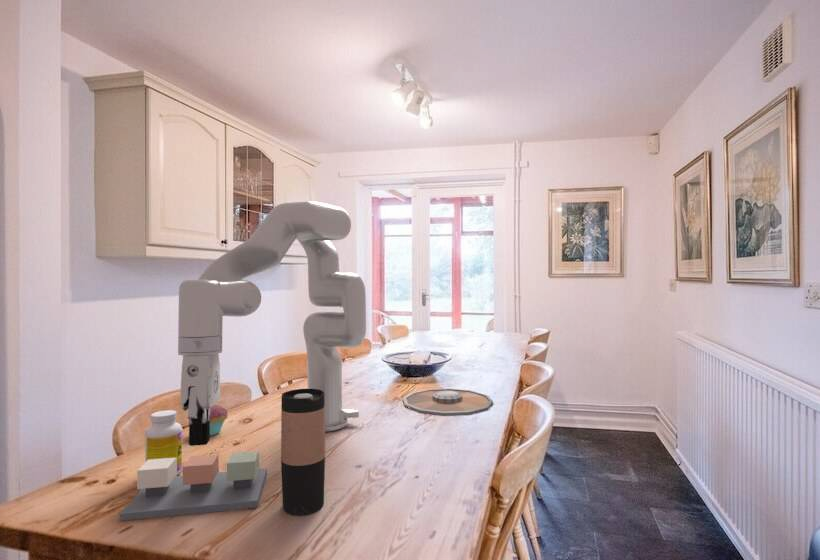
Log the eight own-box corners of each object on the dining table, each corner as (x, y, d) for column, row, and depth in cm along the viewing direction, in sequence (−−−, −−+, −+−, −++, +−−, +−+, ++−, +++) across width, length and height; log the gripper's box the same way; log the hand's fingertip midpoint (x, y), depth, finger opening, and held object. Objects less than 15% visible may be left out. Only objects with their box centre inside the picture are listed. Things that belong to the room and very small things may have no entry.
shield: (409, 381, 165) (491, 384, 160) (409, 390, 165) (491, 393, 160) (394, 404, 135) (494, 408, 130) (394, 415, 135) (494, 419, 130)
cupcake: (214, 439, 113) (214, 392, 113) (185, 437, 115) (185, 390, 115) (234, 428, 122) (234, 384, 122) (206, 426, 123) (206, 383, 123)
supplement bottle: (183, 477, 91) (183, 414, 91) (146, 485, 87) (146, 420, 88) (180, 466, 97) (180, 406, 97) (144, 473, 93) (144, 411, 93)
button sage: (258, 467, 88) (258, 451, 88) (255, 478, 83) (255, 461, 83) (232, 470, 87) (232, 453, 87) (226, 481, 82) (226, 463, 82)
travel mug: (285, 496, 83) (285, 388, 83) (327, 494, 83) (327, 387, 83) (277, 518, 75) (276, 399, 75) (322, 515, 76) (322, 398, 76)
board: (267, 474, 92) (267, 457, 92) (257, 507, 78) (257, 488, 79) (151, 484, 88) (151, 466, 88) (119, 521, 74) (119, 500, 74)
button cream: (176, 474, 85) (176, 457, 85) (167, 486, 80) (167, 468, 80) (148, 477, 84) (148, 459, 84) (137, 489, 79) (137, 470, 79)
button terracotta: (218, 471, 86) (218, 454, 86) (212, 482, 81) (212, 464, 81) (190, 473, 85) (190, 456, 85) (182, 485, 80) (182, 466, 80)
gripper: (212, 350, 77) (210, 457, 76) (229, 340, 91) (228, 430, 91) (165, 351, 75) (163, 460, 75) (190, 341, 90) (189, 432, 89)
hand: (199, 443), depth 83 cm, fingers closed
